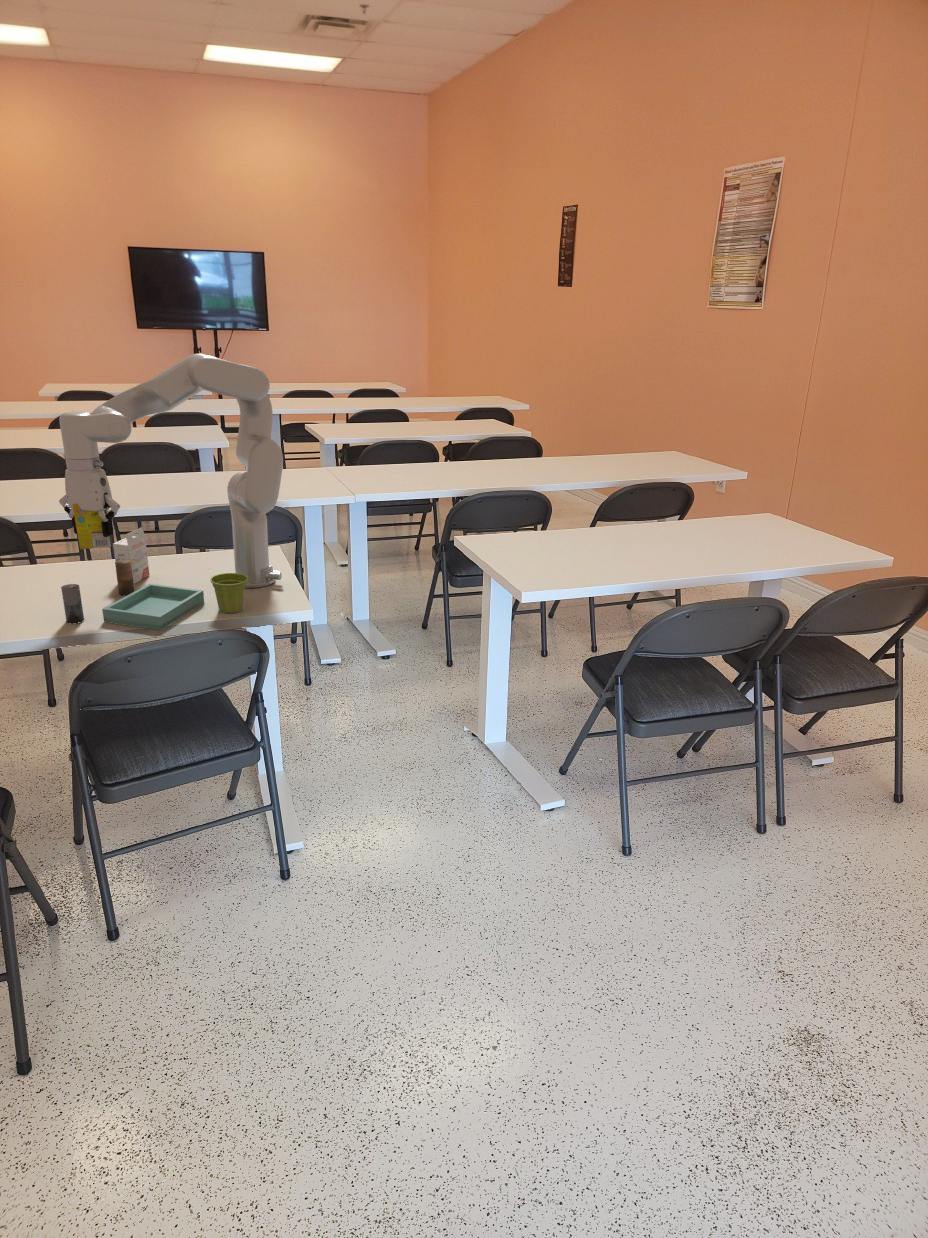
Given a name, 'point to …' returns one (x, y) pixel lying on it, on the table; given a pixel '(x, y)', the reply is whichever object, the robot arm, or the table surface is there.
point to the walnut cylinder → (124, 577)
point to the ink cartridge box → (133, 553)
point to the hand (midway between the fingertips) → (93, 533)
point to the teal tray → (153, 606)
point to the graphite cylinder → (72, 603)
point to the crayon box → (90, 529)
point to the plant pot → (229, 591)
